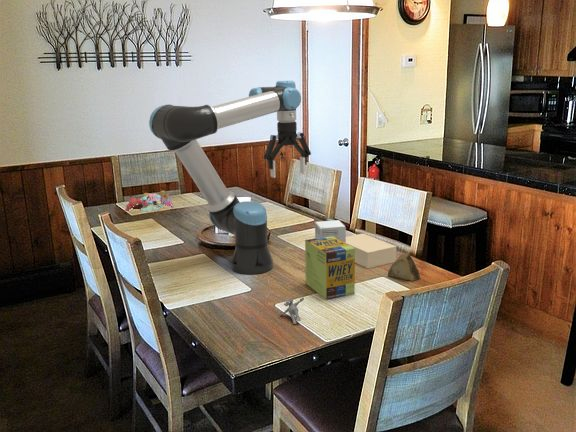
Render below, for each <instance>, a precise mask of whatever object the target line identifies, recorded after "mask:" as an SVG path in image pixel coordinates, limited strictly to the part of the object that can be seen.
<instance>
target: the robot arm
mask: <svg viewBox="0 0 576 432" xmlns="http://www.w3.org/2000/svg"><path fill="white" fill-rule="evenodd" d="M248 92H249V93H248V96H246V97H243V98H239V99H236V100H231V101H228V102H223V103H221V104H216V105H213V106H211V105H209V104H203V105H200V106H186V105H185V106H183V105H174V104H168V103H167V104H164V105H159V106H157V107H156V108H155V109H154V110H153V111H152V112H151V114H150V117H149V120H148V121H149V122H148V125H149V130H150V131H151V133H152V134H153V135H154V136H155V137H156V139H157V138H158V139H160V140H161V141H162V143H163V144H164V145H165V148H166V149H167V150H168V151H169V152H174V153H175V154H176V156H177V158H178V159H179V160H180V162H181V164H182V165H183V167H184V168H185V170H186V172H187V173H188V174H189V176H190V177H191V179H192V180H193V182H194V183H195V185H196V187H197V188H198V189H199V191H200V193H201V194H202V196H203V198H204V199H205V200H206V203H207V205H206V210H207V211H208V218H209V221H210V222H211V224H212V225H213V226H214V227H215V228H217V230H221V231H223V232H226V233H228V234H230V235H233V236H234V240H235V244H234V245H235V248H234V249H235V250H234V252H233V255H232V260H231V270H232V271H233V272H236V273H238V274H243V275H256V274H263V273H267V272H269V271H271V270H273V267H274V259H273V256H272V254H271V251H270V249H269V246H268V214H267V209H266V207H265V205H263V204H261V203H259V202H256V201H249V200H248V201H246V200H245V201H240V200H239V198H238V197H237V195H236V194H235V192H233V191H231V190H228V189H227V187H226V185H225V184H224V182H223V181H222V179H221V177H220V175H219V174H218V172H217V170H216V169H215V166H213V164H212V163H211V161H210V158H208V156H207V154H206V153H205V151H204V150H203V148H202V146H201V145H200V143H199V142H198V139H202V138H205V137H207V136H210V135H213V134H217V132H218V130H219V129H220V130H221V129H223V128H226V127H230V126H233V125H236V124H240V123H243V122H247V121H250V120H253V119H256V118H260V117H264V116H268V115H271V114H273V113H276V120H277V121H278V122H277V134H276V135H275V134H271V135H270V139H269V143H268V145H267V148H266V150H265V152H264V156H263V159H264V160H266V161H268V166H267V167H268V169H269V171H270V178H273V179H275V178H276V160H274V159H276V157H277V155H278V153H280V150H281V149H282V148H283V147H286V146H287V147H288V146H293V147H294V148H295V149H296V151H297V152H298V153H299V154H300V157H299V174H306V166H307V164H308V163H307V161H308V160H307V158H308V157H309V156H311V155H312V152H311V150H310V148H309V146H308V144H307V142H306V138H305V136H304V135H305V134H304V132H297V130H298V129H297V125H298V124H297V122H296V120H297V108H299V106H300V105H301V103H302V95H301V92H300V91H299V90H298V88H296V82H295V81H294V80H278V81H276V82H275V86H258V87H253V88H251V89H250V91H248ZM297 139H298V141H297ZM276 142H277V143H276ZM299 143H300V144H299Z"/></svg>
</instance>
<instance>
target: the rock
mask: <svg viewBox="0 0 576 432" xmlns="http://www.w3.org/2000/svg"><path fill="white" fill-rule="evenodd" d="M420 274H421V273H420V271H419V269H418V267H417V265H416V263H415V261H414V259H413V258H412V257H411V255H410V254H408V253H402V254H400V255H399V256H398V257H397V258H396V261H395V262H393V263H391V266H390V268H389V270H388V272H387V276H388V277H391V278H397V279H401V280H405V281H419V280H420V279H421V278H422V277H421V275H420Z"/></svg>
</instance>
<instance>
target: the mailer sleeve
mask: <svg viewBox="0 0 576 432" xmlns="http://www.w3.org/2000/svg"><path fill="white" fill-rule="evenodd" d="M346 244H348V245H350V246H352V247H354V248H355V263H356V264H357V265H359V266H361V267H363V268H366V269H368V270H369V269H371V268H376V267H379V266H380V267H381V266H385V265H388V264H393V263H394V262H395V261H396V260H397V246H396V245H395V244H391V243H389V242H386V241H384V240H380V239H379V238H377V237H376V238H375V237H374V236H371V235H368V234H366V233H358V234H356V235H352V236H348V237H346Z"/></svg>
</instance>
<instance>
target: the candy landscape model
mask: <svg viewBox="0 0 576 432" xmlns="http://www.w3.org/2000/svg"><path fill="white" fill-rule="evenodd" d="M137 203H138V205H136V204H137ZM148 204H152V205H149V206H148ZM161 204H162V205H164V204H165V206H166V205H167V206H171V204H172V205H173V206H174V203H173V198H172V195H170V193H169V192H168V193H166V190H161V191H160V194H158V193H149V192H144V193H143V197H141V198H136V197H131V198H130V199H129V200H128V203H127V204H126V206H125V209H124V210H125V212H126V211H129V209H131V208H133V209H140V211H139V212H149V211H155V210H160V208H163V207H162V205H161ZM153 205H157V206H158V207H160V208H158V207H155V206H153ZM133 206H134V207H133ZM141 208H142V209H141Z"/></svg>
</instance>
